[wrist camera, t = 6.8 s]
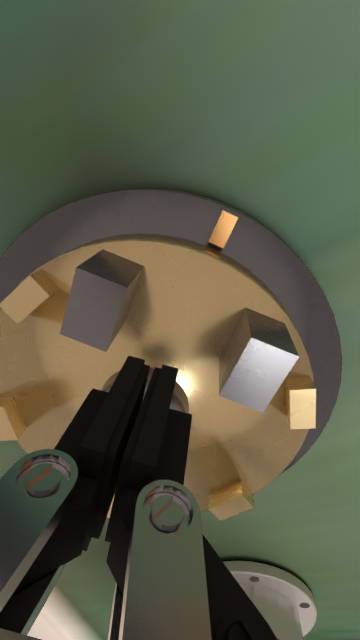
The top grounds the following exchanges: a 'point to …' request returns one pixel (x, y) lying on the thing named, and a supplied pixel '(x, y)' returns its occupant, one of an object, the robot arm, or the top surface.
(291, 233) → the top surface
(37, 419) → the round gold dish
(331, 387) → the housing
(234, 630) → the robot arm
